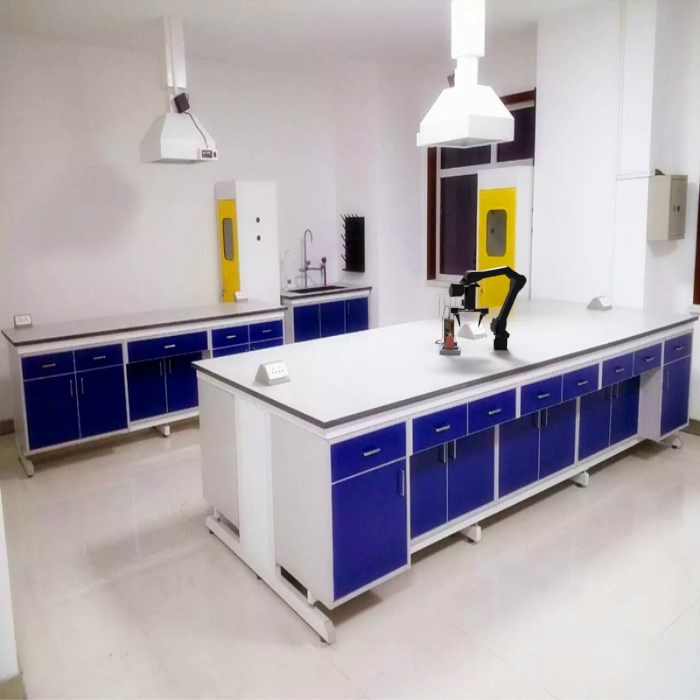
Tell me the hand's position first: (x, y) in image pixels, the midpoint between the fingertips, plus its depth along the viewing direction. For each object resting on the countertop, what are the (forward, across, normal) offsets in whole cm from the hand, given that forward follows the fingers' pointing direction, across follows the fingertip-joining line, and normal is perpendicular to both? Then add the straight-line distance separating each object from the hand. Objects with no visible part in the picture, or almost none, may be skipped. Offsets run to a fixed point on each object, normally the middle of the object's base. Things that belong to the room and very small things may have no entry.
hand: (469, 327), depth 318 cm
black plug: (+12, +9, -4) cm, 16 cm away
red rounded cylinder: (+12, +9, +5) cm, 15 cm away
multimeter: (+12, +14, -15) cm, 24 cm away
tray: (+12, +9, +5) cm, 16 cm away
